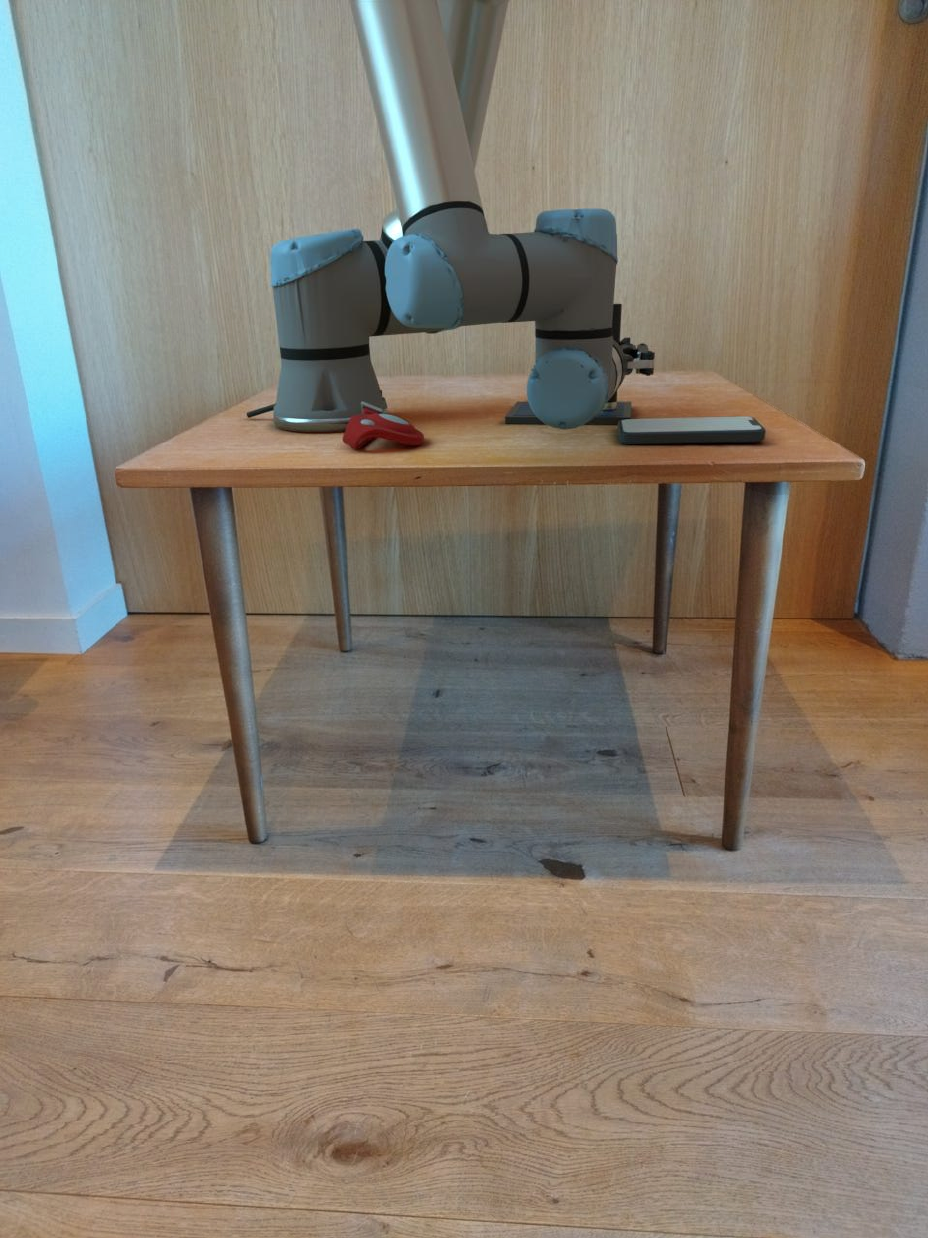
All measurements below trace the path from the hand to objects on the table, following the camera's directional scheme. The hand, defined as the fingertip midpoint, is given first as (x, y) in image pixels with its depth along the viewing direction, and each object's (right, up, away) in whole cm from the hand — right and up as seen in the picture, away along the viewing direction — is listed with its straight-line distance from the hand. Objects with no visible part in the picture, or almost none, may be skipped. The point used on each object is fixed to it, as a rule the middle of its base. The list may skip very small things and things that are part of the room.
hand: (615, 347), depth 110 cm
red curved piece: (-30, -16, -12) cm, 36 cm away
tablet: (-6, -9, -1) cm, 11 cm away
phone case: (+6, -16, -15) cm, 22 cm away
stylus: (-2, -9, -2) cm, 9 cm away
